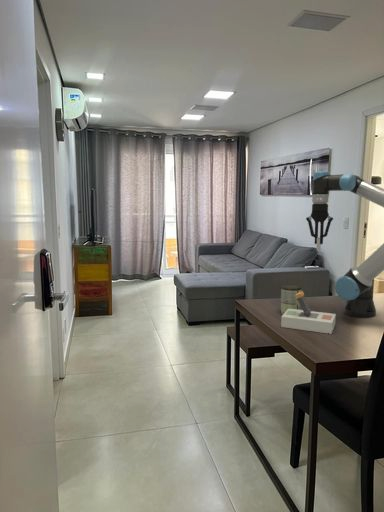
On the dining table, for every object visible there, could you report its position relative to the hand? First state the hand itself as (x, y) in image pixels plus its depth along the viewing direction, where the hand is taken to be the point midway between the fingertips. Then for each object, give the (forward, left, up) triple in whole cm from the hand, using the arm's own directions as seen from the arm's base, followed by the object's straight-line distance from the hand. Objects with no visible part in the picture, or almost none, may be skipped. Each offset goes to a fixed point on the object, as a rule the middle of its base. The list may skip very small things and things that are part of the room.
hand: (318, 250), depth 192 cm
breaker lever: (0, +22, -27) cm, 35 cm away
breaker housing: (0, +22, -32) cm, 39 cm away
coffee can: (+12, +5, -33) cm, 35 cm away
